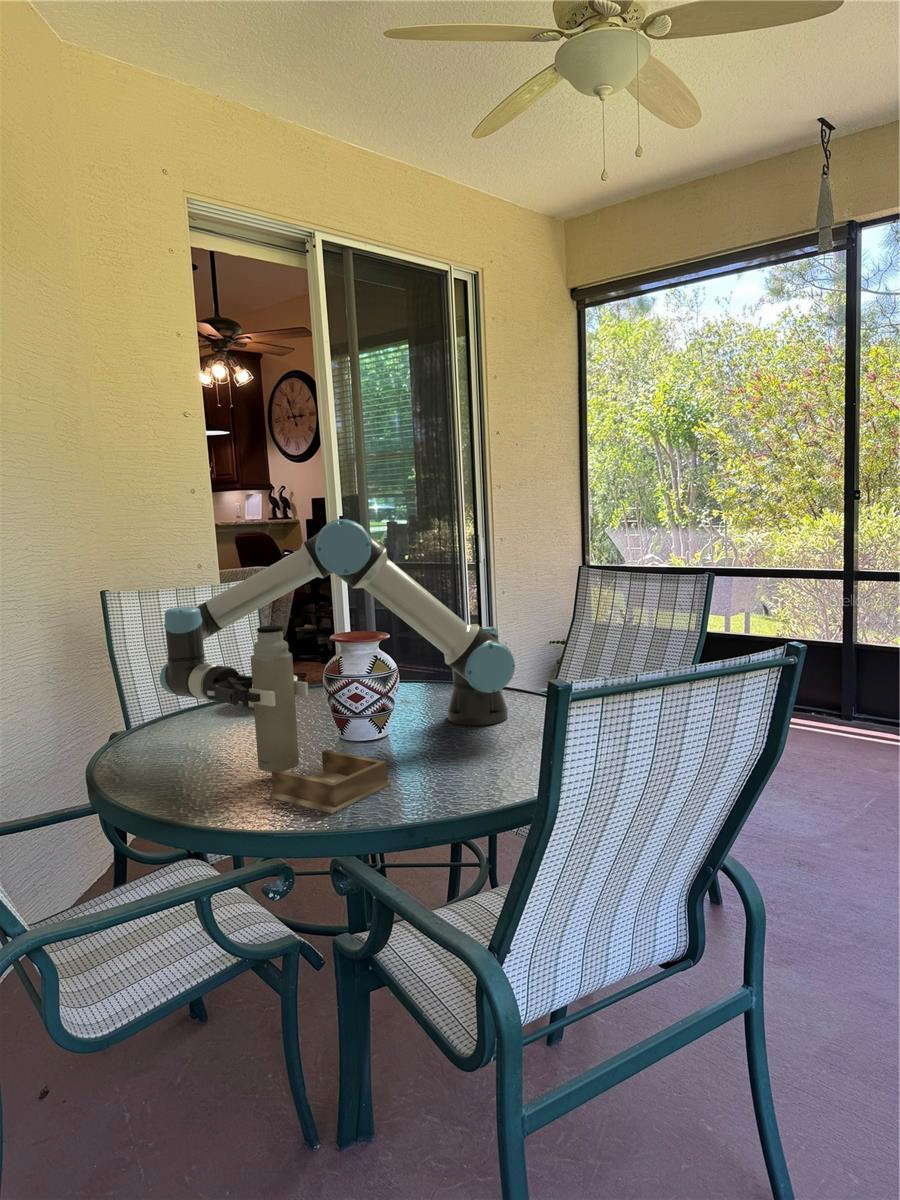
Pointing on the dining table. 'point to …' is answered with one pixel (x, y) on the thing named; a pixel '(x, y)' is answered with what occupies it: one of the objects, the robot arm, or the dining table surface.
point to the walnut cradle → (332, 782)
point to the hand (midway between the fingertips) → (290, 694)
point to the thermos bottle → (280, 720)
